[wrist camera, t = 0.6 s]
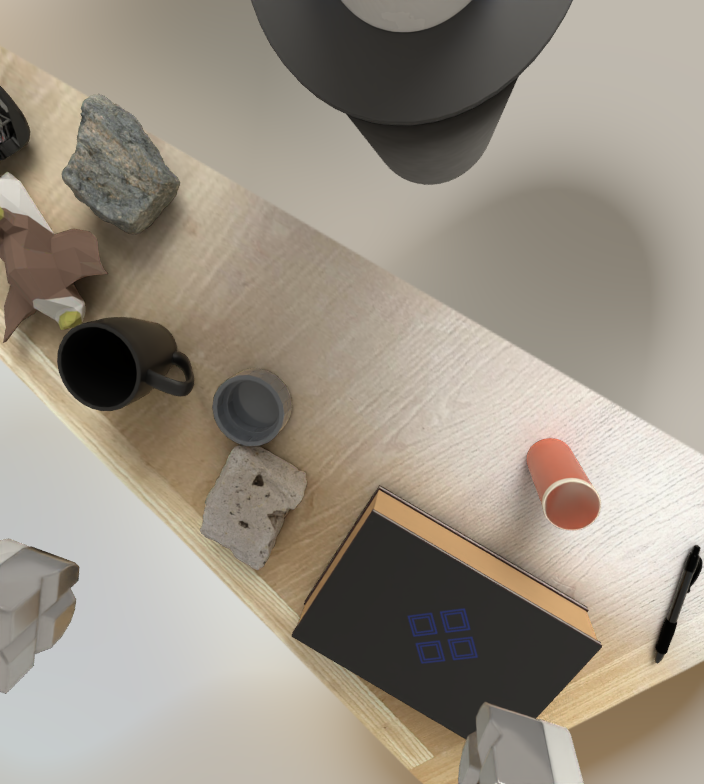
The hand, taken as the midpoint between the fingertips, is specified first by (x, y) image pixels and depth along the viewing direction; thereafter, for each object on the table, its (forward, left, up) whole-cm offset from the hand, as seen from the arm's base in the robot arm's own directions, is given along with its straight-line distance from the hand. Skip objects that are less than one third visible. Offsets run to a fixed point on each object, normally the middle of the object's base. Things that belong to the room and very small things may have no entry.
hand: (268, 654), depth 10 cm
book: (+29, +10, -44) cm, 54 cm away
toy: (-3, -43, -38) cm, 57 cm away
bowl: (+12, -13, -44) cm, 48 cm away
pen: (+21, +33, -43) cm, 58 cm away
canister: (+10, +17, -44) cm, 48 cm away
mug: (+9, -24, -44) cm, 51 cm away
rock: (-8, -30, -45) cm, 54 cm away
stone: (+23, -11, -44) cm, 51 cm away
